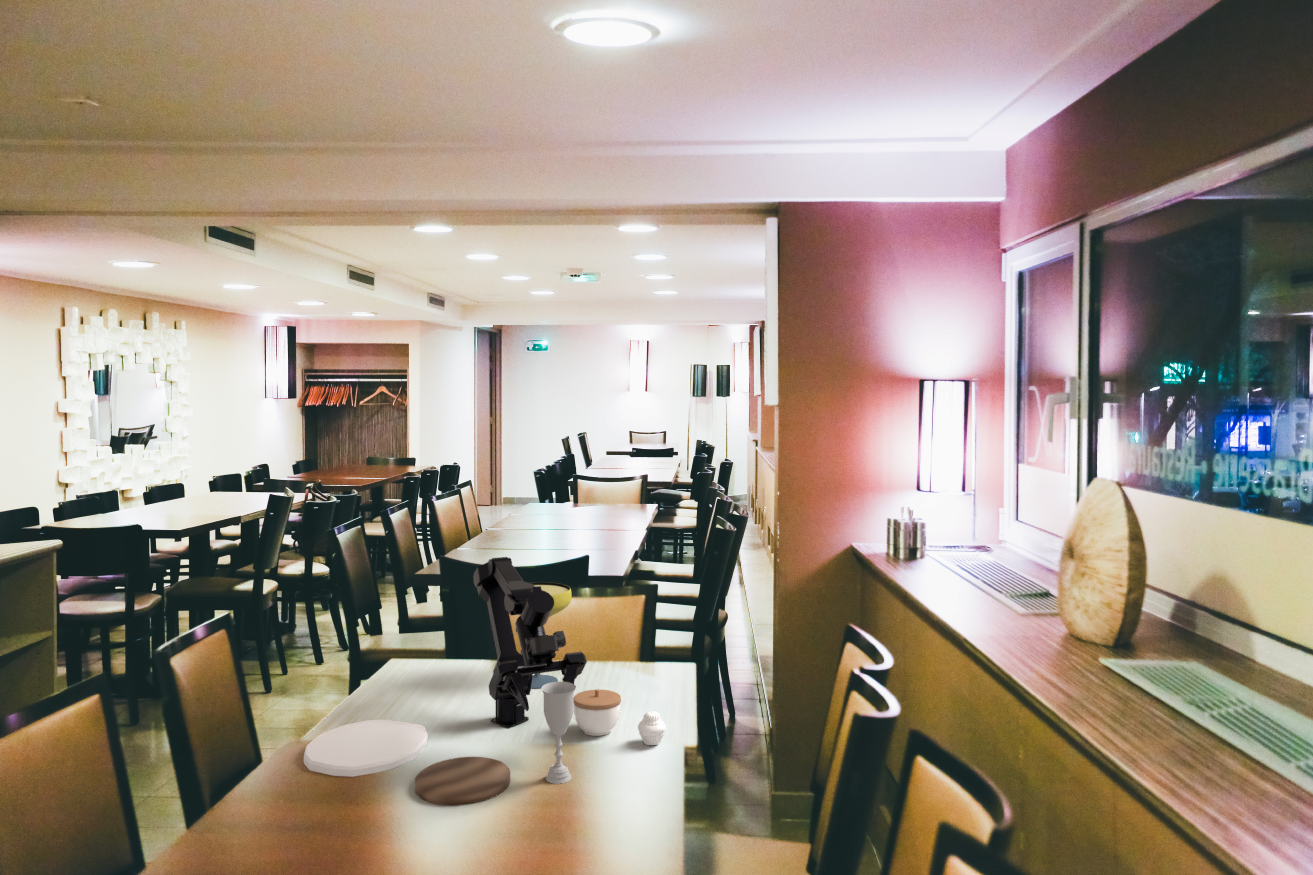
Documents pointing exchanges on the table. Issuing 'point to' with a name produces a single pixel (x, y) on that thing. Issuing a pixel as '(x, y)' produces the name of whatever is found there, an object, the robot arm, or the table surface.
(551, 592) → the cocktail glass
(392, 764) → the decorative plate
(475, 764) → the serving board
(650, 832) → the table surface
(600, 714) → the lidded jar
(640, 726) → the muffin
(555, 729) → the chalice
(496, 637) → the robot arm
